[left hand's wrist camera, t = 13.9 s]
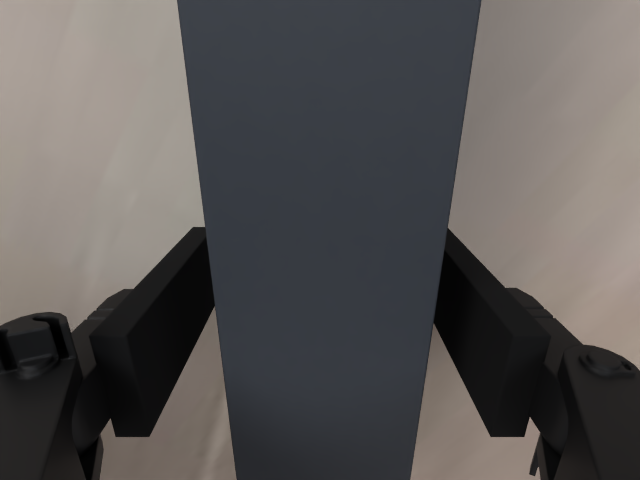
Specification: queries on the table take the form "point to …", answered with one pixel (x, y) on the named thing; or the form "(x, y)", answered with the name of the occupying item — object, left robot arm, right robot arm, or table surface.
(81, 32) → the table surface
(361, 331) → the beam
